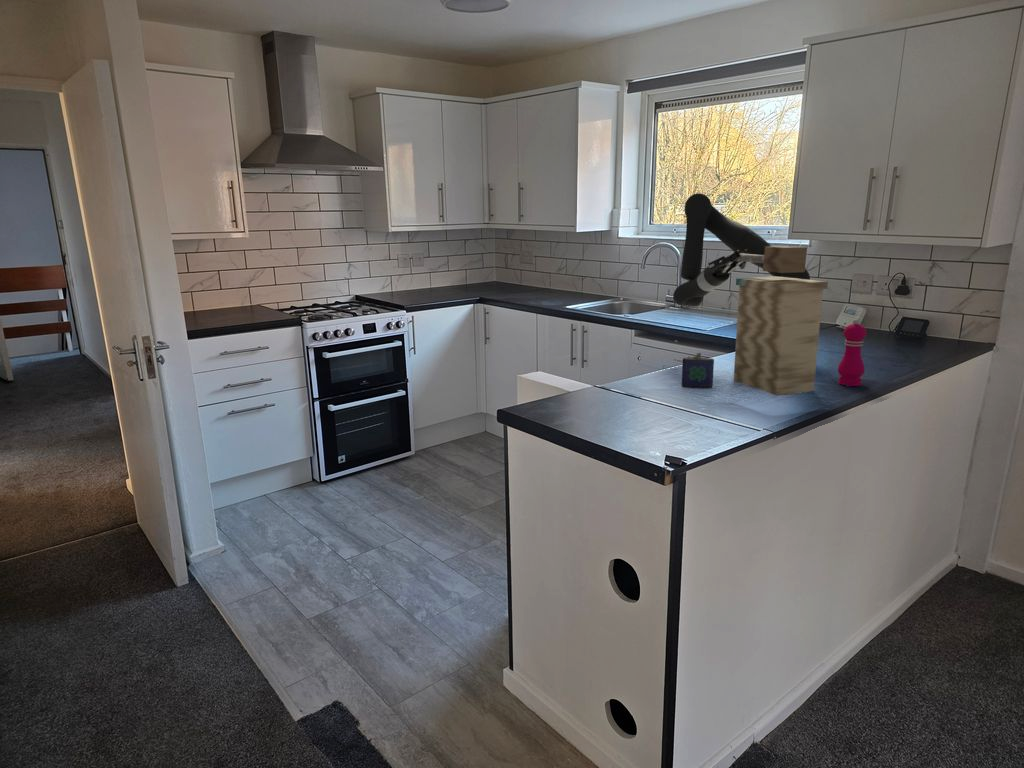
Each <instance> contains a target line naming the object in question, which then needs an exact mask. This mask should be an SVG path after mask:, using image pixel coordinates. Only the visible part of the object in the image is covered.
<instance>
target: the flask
mask: <svg viewBox="0 0 1024 768" xmlns="http://www.w3.org/2000/svg"><path fill="white" fill-rule="evenodd" d="M714 364H715V359H714V358H711V357H708V358H707V357H706V358H705V357H704V358H702V353H701V352H697V353H696V355H695V356H692V357H691V356H688V357H683V358H682V364H681V365H682V366H681V368H682V371H681V373H682V374H681V387H682V388H684V389H713V387H714V368H715V367H714V366H715V365H714Z"/></svg>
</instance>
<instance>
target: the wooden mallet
mask: <svg viewBox="0 0 1024 768" xmlns="http://www.w3.org/2000/svg"><path fill="white" fill-rule="evenodd" d="M733 253H734V252H731V253H730V254H729V255H731V254H733ZM807 253H808V247H807V246H793V245H792V246H791V245H789V246H787V245H785V246H783V245H781V246H779V245H778V246H777V245H776V246H773V245H771V246H768V247H765V252H764V255H755V254H742V253H740V257H739V258H738V259H736V260H735V261H744V262H746V263H748V262H749V263H751V262H755V263H763V269H762V271H763V272H767V271H769V272H778V273H794V272H805V269H806V261H807V256H808V255H807ZM769 272H768V273H769Z"/></svg>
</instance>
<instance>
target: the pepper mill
mask: <svg viewBox="0 0 1024 768" xmlns="http://www.w3.org/2000/svg"><path fill="white" fill-rule="evenodd" d="M866 336H867V329H866V327H865V326H864V325H862V324H860V319H858V318H854V319H853V320H852V324H851V323H850V324H848V325H846V327H845V328H844V330H843V337H844V338H845V340H844V345H845V351H844V355H843V356H842V359H841V360H840V362H839V363H838V367H837V373H838V374H839V375H840V376H839V377H838V381H837V383H838V385H840V384H842V385H841V386H843V385H848V386H847V387H851V386H856V387H860V386H862V378H861V377H862V376H863V375H864V374H865V364H864V361H863V358H862V354H861V353H862V347H863V346H864V340H863V339H865V338H866ZM859 385H860V386H859Z"/></svg>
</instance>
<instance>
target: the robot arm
mask: <svg viewBox="0 0 1024 768" xmlns="http://www.w3.org/2000/svg"><path fill="white" fill-rule="evenodd" d="M684 213H685V219H686V223H685V224H686V226H685V227H686V231H685V240H684V246H683V251H682V252H683V253H682V258H681V259H682V260H681V267H680V269H681V270H680V277H681V279H683V280H686V282H683V283H682V284H679V286H677V287H676V288H675V290H674V291H673V294H672V298H673V301H674V303H675V304H676V305H677V306H686V307H699V306H700V305H701V304H702V302H703V301H704V297H705V296H706V295H708V294H709V293H710V292H712V291H713V290H715V289H717V288H718V287H719V286H721V285H722V284H723V283H725V282H726V281H728V279H729V278H730V277H731V273H733V272H735V271H736V269H738V268H739V269H740V270H744V269H745V268H746V265H747V262H744V261H735V260H736V259H738V258H739V257H740V253H742V254H755V255H764V252H765V247H768V246H772V245H771V243H770V244H769V242H768V241H766V240H765V239H764V237H762V236H761V235H760V234H758V233H757V232H755V231H753V229H751V228H749V227H747V226H746V225H744V224H742V223H740V222H738V221H735V219H734V220H733V219H731V218H730V217H728V216H726V215H724V214H723V213H722V212H720V211H719V210H718V209H717V208H716V207H715V206H714V205H712V202H711V199H710V198H709V196H708V195H706V194H705V193H703V192H702V193H701V192H696V193H693V194H691V195H690V196H689V197H688V198H687V200H686V201H685V203H684ZM705 230H706V231H708V232H709V233H711V234H713V235H714V236H715V237H716V238H717V239H718V240H719V241H721V243H723V244H724V245H725V246H727V247H728V248H729V249H730V250H731V251H733V252H732V253H733V254H731V253H730V254H731V255H730V254H729V255H726V256H725V255H723V256H721V257H719V258H717V259H715V260H713V261H710V262H708V264H707V267H705V268H704V269H703V270H702V266H703V256H704V254H703V253H704V238H705ZM750 263H751V264H752V265H754V266H757V267H758V268H760V269H762V270H763V263H755V262H750ZM766 272H768V273H769V274H770V276H778V277H788V278H798V279H807V280H811V276H810V273H809V271H808V270H807V269H806V268H805V272H794V273H778V272H769V271H766Z"/></svg>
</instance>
